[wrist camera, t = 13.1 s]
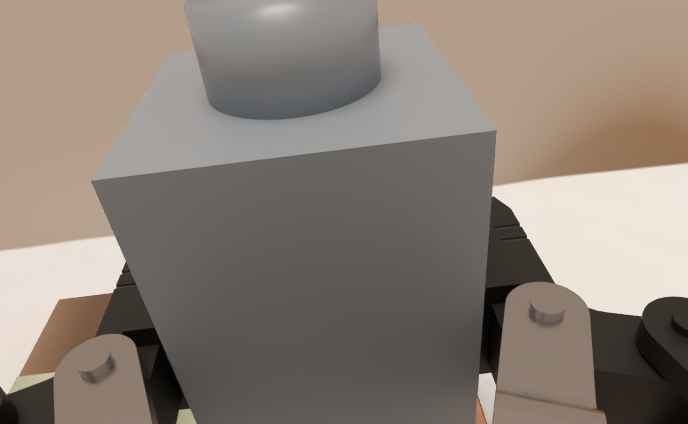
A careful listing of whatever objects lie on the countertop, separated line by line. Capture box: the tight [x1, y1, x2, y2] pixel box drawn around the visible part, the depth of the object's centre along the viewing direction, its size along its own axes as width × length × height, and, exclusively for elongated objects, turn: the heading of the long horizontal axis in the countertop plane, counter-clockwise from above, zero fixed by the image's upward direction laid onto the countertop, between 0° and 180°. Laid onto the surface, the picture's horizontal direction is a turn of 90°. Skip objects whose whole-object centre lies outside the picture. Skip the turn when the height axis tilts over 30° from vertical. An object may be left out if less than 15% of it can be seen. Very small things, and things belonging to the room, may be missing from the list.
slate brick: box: [91, 0, 496, 424], centre depth 12 cm, size 5×5×13 cm
